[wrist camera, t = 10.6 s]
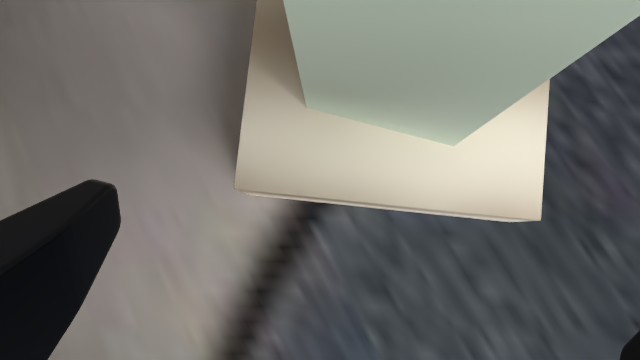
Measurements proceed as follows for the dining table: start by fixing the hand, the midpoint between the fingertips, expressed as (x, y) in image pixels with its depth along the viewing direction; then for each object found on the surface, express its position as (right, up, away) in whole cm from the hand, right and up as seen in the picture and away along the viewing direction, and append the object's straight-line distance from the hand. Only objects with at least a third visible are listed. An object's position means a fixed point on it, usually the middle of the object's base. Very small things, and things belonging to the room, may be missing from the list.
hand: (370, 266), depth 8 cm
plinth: (+2, +5, +11) cm, 13 cm away
